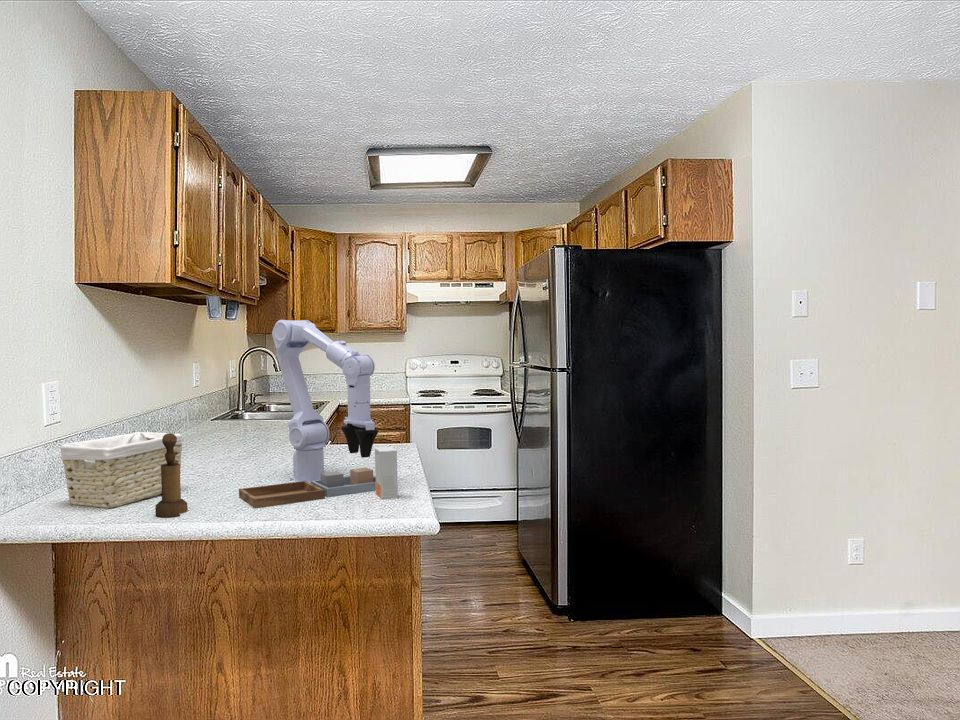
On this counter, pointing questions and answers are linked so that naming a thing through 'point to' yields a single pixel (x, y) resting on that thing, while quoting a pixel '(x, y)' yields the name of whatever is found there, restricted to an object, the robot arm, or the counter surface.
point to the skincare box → (386, 472)
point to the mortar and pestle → (170, 483)
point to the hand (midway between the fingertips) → (359, 455)
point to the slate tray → (346, 487)
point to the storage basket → (116, 468)
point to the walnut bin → (281, 494)
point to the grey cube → (332, 479)
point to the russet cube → (361, 476)
